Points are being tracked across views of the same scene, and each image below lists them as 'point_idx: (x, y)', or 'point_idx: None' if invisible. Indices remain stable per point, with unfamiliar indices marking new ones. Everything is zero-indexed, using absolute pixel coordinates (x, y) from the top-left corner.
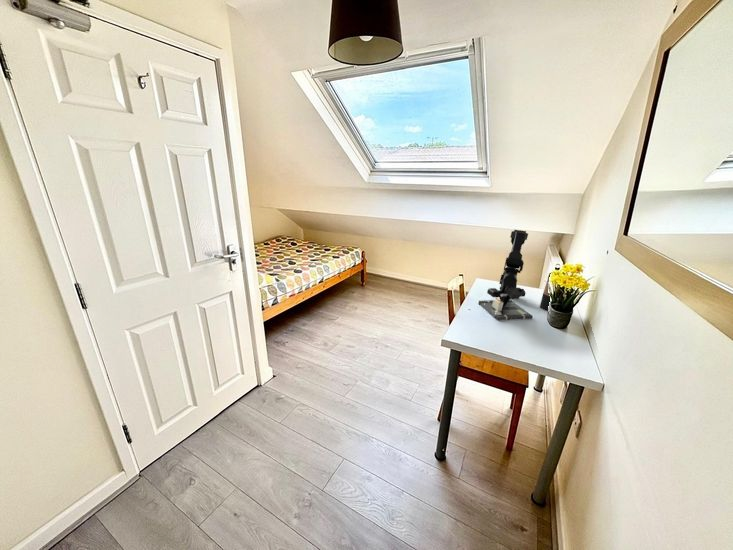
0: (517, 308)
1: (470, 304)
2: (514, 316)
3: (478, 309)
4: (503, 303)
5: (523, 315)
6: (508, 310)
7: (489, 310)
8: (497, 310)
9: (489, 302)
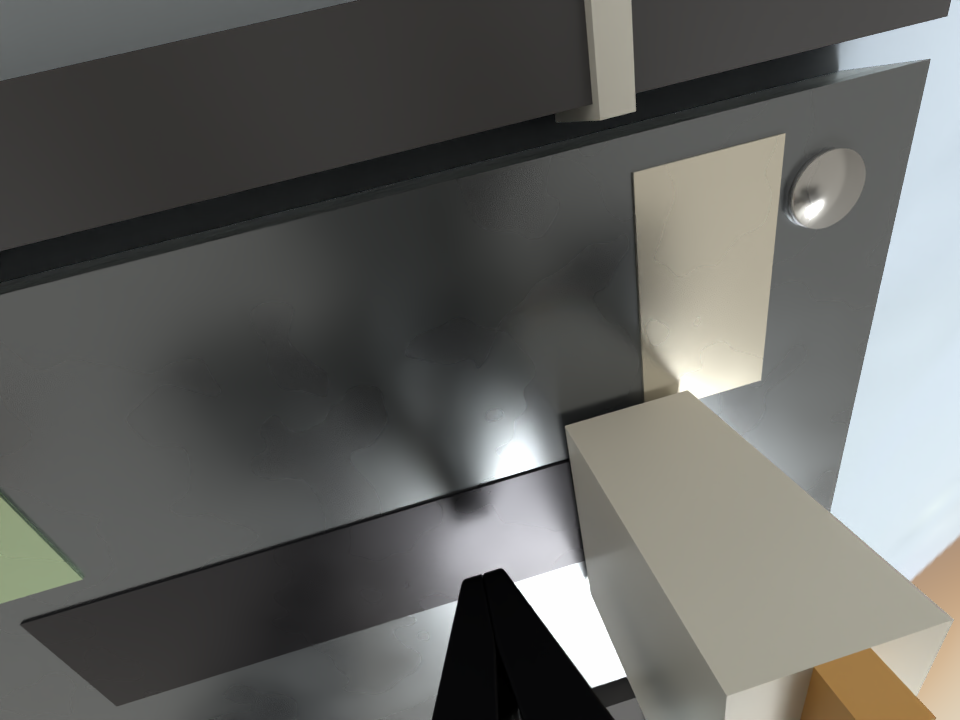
0: (35, 657)
1: (899, 559)
2: (219, 65)
3: (898, 438)
4: (575, 691)
5: None
6: (339, 492)
7: (860, 371)
8: (689, 395)
9: (627, 682)
